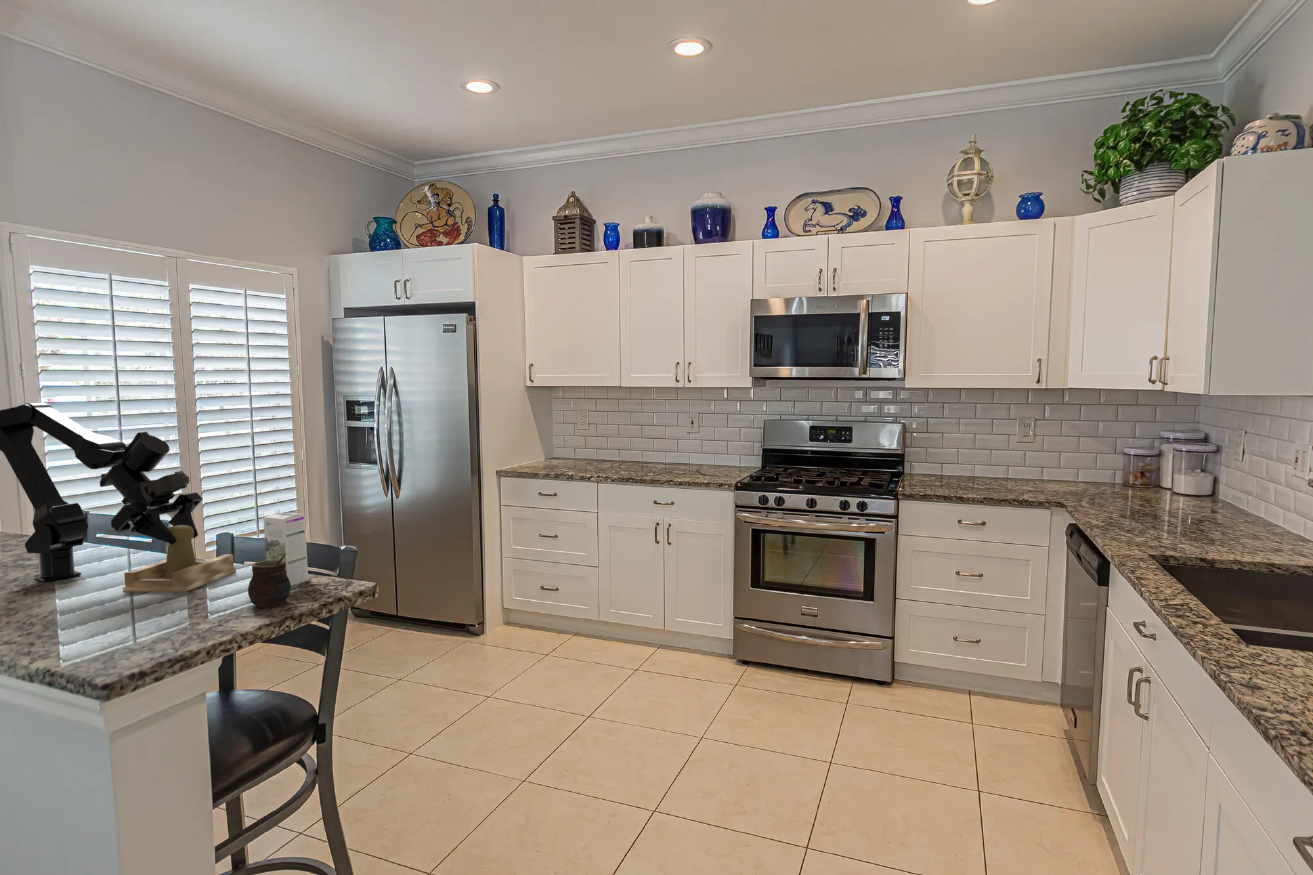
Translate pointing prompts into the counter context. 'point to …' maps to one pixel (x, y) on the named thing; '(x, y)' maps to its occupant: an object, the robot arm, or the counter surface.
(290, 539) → the syrup box
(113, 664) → the counter surface
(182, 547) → the olive pepper mill
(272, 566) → the mate gourd
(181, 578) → the track
